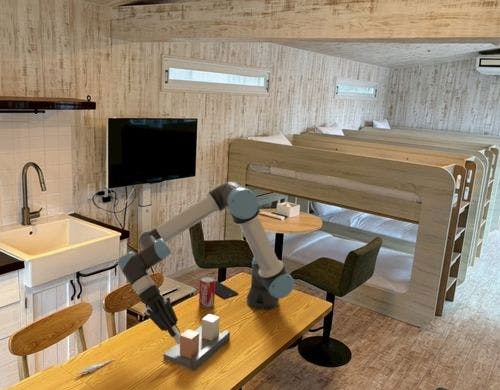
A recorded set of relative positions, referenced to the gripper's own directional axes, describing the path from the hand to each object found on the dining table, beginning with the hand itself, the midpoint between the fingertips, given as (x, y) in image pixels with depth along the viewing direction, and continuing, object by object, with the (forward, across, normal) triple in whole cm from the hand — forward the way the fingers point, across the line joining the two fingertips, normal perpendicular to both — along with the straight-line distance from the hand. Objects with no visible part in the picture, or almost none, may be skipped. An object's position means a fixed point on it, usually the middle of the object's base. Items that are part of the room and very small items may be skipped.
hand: (181, 342), depth 169 cm
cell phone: (-8, -56, -17) cm, 59 cm away
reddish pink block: (+5, 0, 0) cm, 5 cm away
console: (+6, -7, -2) cm, 9 cm away
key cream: (+5, -14, 0) cm, 15 cm away
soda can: (-6, -39, -14) cm, 42 cm away
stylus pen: (-10, +22, -19) cm, 30 cm away
